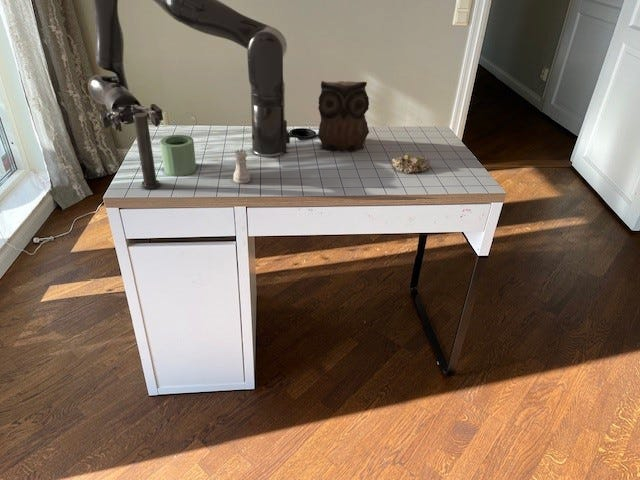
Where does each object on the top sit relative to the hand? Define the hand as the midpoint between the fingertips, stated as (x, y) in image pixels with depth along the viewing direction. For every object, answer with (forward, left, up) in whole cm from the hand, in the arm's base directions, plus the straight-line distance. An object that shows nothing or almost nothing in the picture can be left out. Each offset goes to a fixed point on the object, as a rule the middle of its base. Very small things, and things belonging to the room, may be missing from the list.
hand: (138, 124), depth 116 cm
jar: (-9, -4, -14) cm, 17 cm away
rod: (-1, +4, -14) cm, 15 cm away
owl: (-58, -9, -15) cm, 60 cm away
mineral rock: (-70, +12, -15) cm, 72 cm away
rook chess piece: (-23, +7, -15) cm, 28 cm away
